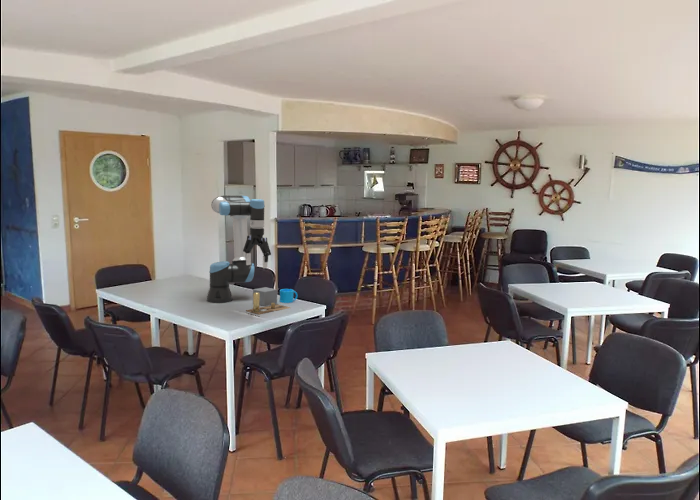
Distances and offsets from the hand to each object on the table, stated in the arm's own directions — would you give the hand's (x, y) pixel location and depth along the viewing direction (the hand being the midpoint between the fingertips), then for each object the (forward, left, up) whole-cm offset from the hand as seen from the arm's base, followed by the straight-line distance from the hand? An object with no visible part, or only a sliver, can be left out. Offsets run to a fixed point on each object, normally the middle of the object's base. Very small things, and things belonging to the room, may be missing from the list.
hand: (256, 266), depth 286 cm
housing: (-12, +17, -27) cm, 34 cm away
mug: (-7, +32, -27) cm, 43 cm away
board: (0, +15, -27) cm, 31 cm away
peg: (0, 0, -27) cm, 27 cm away
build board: (0, +3, -27) cm, 27 cm away
